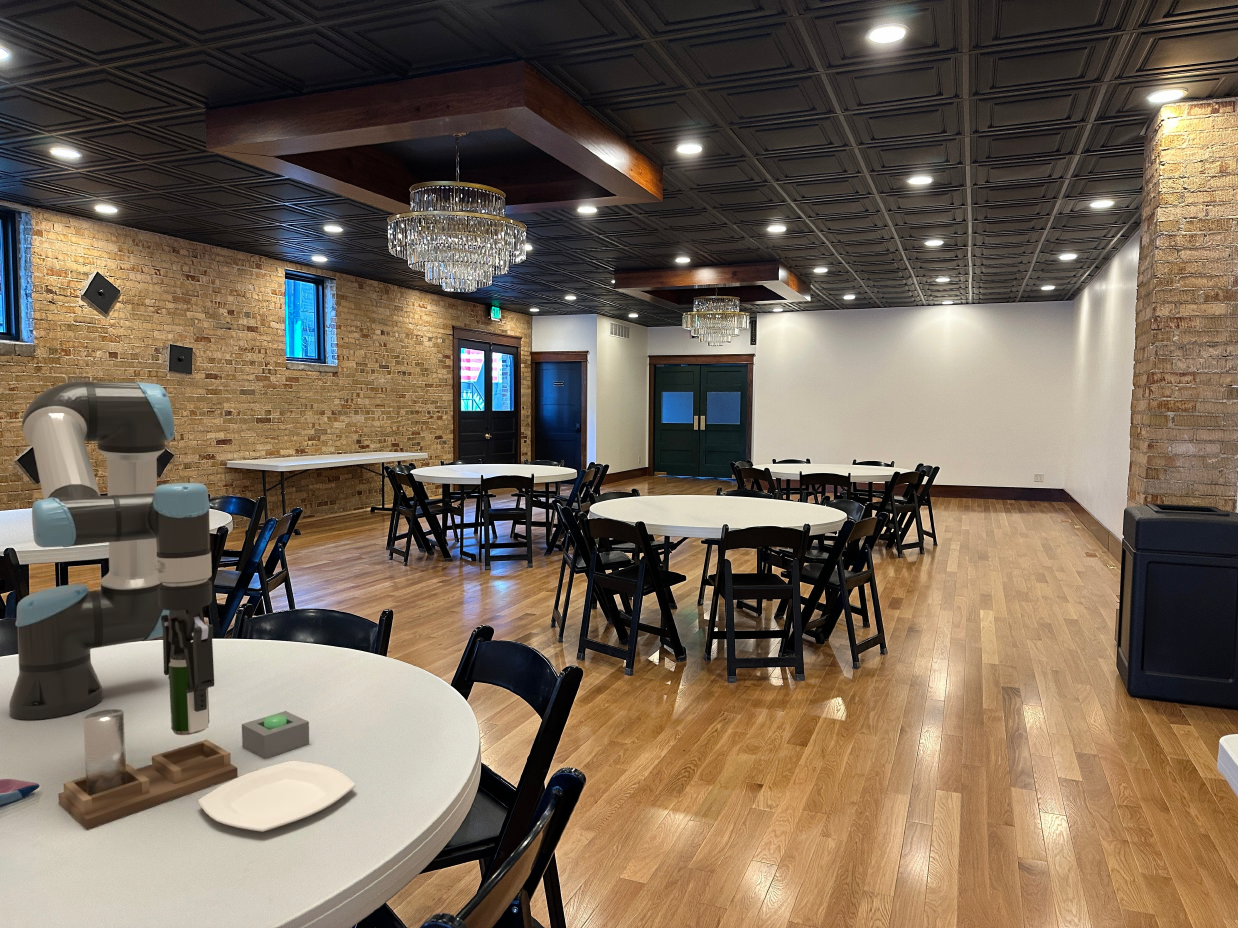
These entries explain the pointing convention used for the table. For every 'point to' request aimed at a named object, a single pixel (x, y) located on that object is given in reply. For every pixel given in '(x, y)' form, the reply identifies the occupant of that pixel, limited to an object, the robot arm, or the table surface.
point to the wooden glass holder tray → (150, 784)
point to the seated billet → (104, 750)
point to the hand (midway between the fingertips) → (190, 724)
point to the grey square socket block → (275, 736)
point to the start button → (275, 721)
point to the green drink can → (180, 695)
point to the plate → (276, 795)
